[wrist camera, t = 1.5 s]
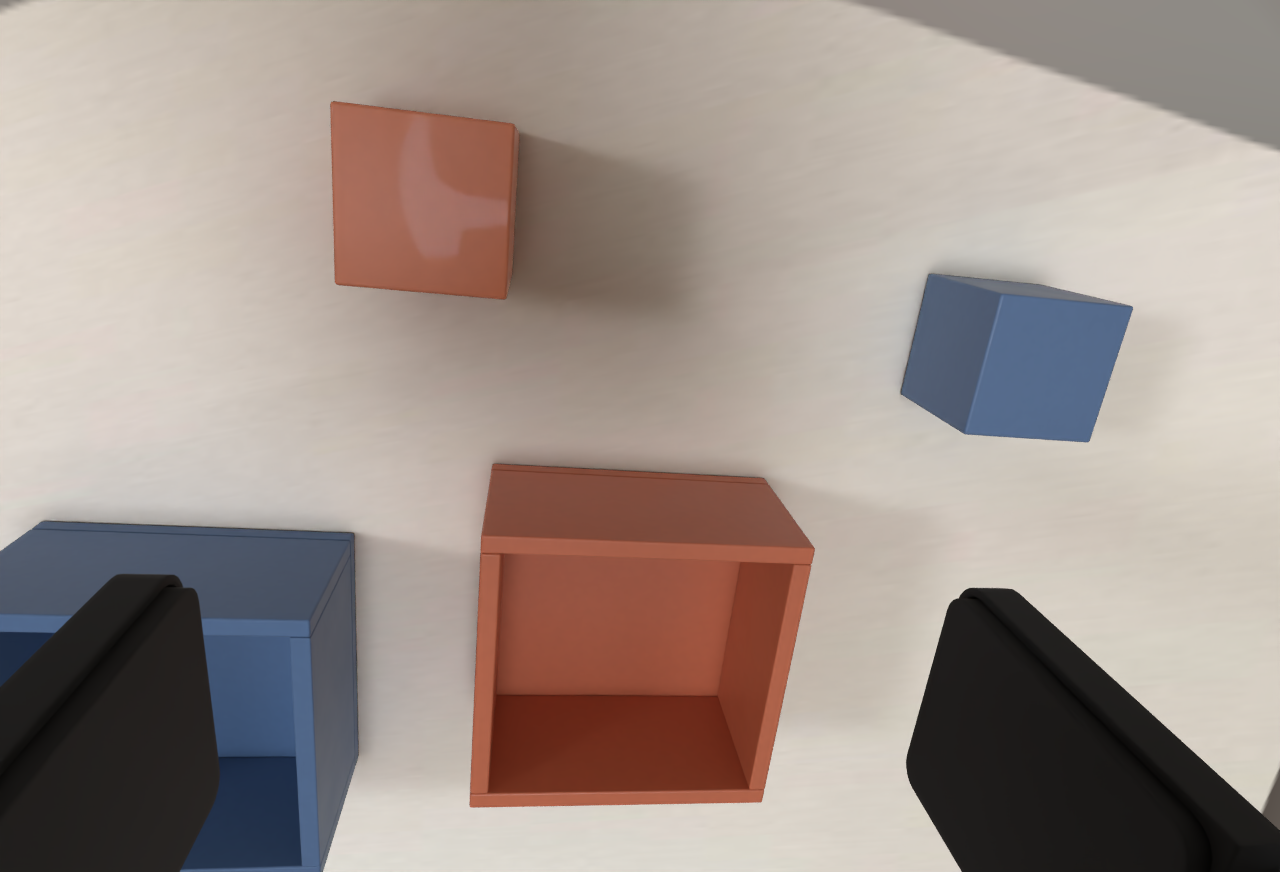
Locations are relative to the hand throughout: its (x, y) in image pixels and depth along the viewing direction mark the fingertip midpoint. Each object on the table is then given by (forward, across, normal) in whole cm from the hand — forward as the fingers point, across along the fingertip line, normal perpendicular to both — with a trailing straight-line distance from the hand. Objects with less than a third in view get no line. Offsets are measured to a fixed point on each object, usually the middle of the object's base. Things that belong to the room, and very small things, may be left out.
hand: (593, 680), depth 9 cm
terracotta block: (+18, +4, -5) cm, 19 cm away
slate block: (+17, -15, -1) cm, 23 cm away
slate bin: (+17, +12, +12) cm, 24 cm away
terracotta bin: (+17, -3, +10) cm, 20 cm away
